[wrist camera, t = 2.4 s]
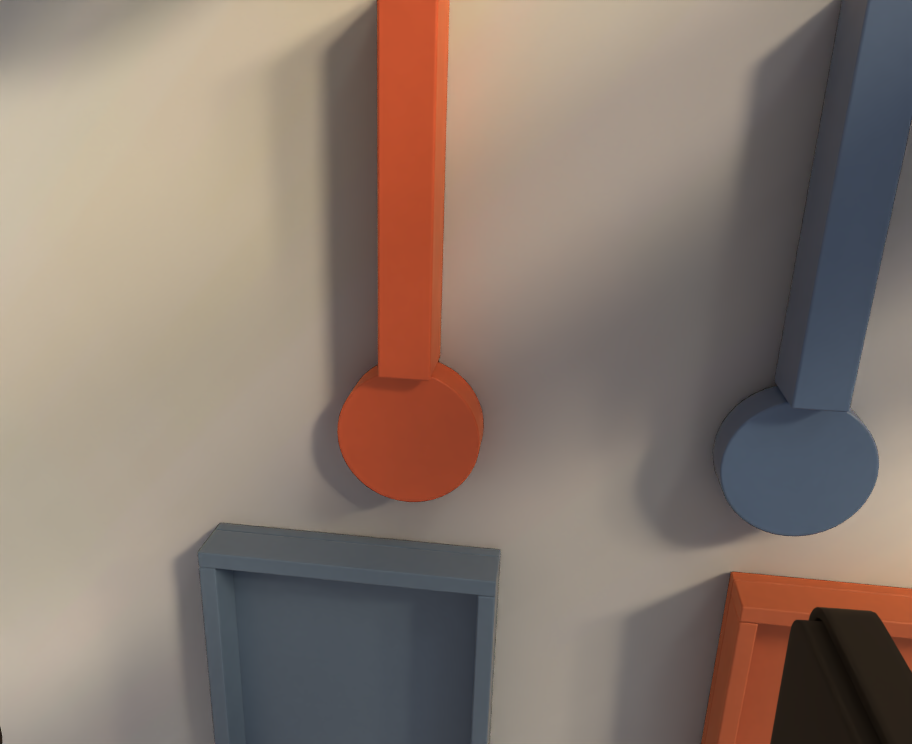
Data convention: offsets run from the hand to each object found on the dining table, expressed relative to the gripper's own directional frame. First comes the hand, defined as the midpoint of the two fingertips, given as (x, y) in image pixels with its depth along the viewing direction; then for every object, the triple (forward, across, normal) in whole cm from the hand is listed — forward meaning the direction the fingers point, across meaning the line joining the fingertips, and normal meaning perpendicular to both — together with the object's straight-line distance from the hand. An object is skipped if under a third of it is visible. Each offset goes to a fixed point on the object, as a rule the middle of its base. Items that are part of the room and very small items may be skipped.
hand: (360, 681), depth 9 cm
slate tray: (+18, +5, +20) cm, 27 cm away
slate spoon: (+18, -10, -1) cm, 20 cm away
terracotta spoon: (+18, +2, -1) cm, 18 cm away
